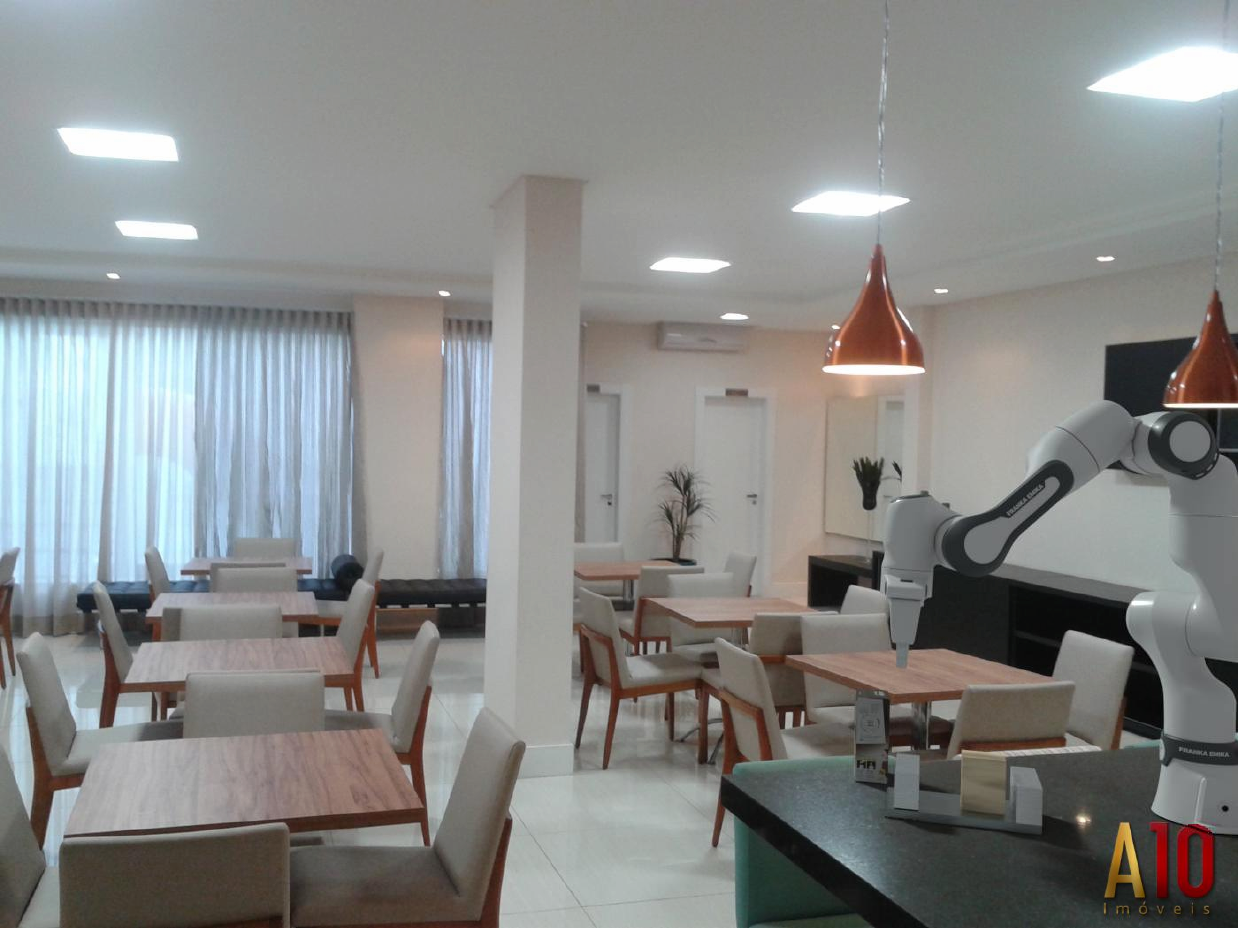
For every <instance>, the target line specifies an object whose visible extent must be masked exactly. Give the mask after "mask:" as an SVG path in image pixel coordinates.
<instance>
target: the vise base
mask: <svg viewBox="0 0 1238 928" xmlns="http://www.w3.org/2000/svg"><path fill="white" fill-rule="evenodd" d="M1009 775H1010V778H1009V799H1005V814H996V813H987V812H978V811H969V810H961V801H960V800H961V794H957V793H945V792H939V791H938V792H937V791H929V790H928V791H927V790H920V789H919V804H918V810H913V809H904V808H895V807H894V787H893V786H892V787H890V786H887V787H886V794H885V795H886V796H885V803H884V817H885V816H887V817H886V818H890V817H892V818H891V819H898V818H904V819H903V820H907V819H912V820H911V821H916V820H919V821H918V822H924V821H925V822H927V823H935V824H943V825H952V826H961V827H969V828H970V827H971V828H978V829H985V830H986V829H987V830H994V831H995V830H997V831H1004V832H1014V833H1020V834H1021V833H1022V834H1030V835H1039V836H1041V835H1042V832H1043V795H1044V788H1043V787H1042V786H1043V785H1042V784H1041V781H1040V778H1039V776H1038V773H1037V771H1036V768H1033V767H1024V766H1012V765H1010V774H1009ZM1042 836H1043V835H1042Z"/></svg>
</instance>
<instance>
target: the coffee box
mask: <svg viewBox="0 0 1238 928" xmlns="http://www.w3.org/2000/svg"><path fill="white" fill-rule="evenodd" d="M890 712H891V696H890V694H889V691H888V690H885V689H872V688H871V689H866V688H865V689H862V688H860V689H859V688H855V693H854V730H853V731H854V732H853V733H854V734H853V779H854V781H855V782H861V783H862V782H863V783H864V782H865V783H875V784H883V785H886V784H888V777H889V776H888V772H889V770H888V769H889V750H890V749H889V748H890V747H889V746H890V745H889V744H890V717H891V716H890V714H891V713H890Z"/></svg>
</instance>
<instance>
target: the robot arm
mask: <svg viewBox="0 0 1238 928" xmlns="http://www.w3.org/2000/svg"><path fill="white" fill-rule="evenodd" d="M1215 436H1216V435H1215V433H1214V430H1213V428H1212V427H1211V425H1210V424H1209V422H1208V421H1207V420H1206V419H1204V418H1203V417H1201V416H1200V415H1198V414H1196V413H1193V412H1189V411H1184V410H1183V411H1182V410H1173V411H1155V412H1151V413H1147V414H1144V415H1139V416H1138V415H1137V416H1136V415H1135V416H1132V415H1131V414H1130V412H1129V411H1128V410H1126V409H1125V408H1124V407H1123V406H1122V405H1120V404H1119V403H1116V402H1115V401H1112V400H1107V399H1101V400H1096V401H1094V402H1092V403H1089V404H1088V405H1086V406H1084V407H1082V408H1081V409H1079V410H1077V411H1075V412H1073V413H1072V414H1070V415H1069V416H1067V417H1066V418H1064V419H1063V420H1062V421H1060V422H1059V423H1057V424H1056V425H1055V426H1054V427H1052V428H1051V429H1050V430H1049V431H1047V432H1046V433H1045V434H1044V435H1043V436H1042V437H1041V438H1039V439H1038V441H1036V443H1035V444H1034V445H1033V446H1032V447H1031V448H1030V450H1029V451H1028V452H1027V454H1026V457H1025V470H1026V474H1025V477H1024V478H1023V479H1022V481H1021V482H1020V483H1019V484H1018V485H1017V486H1015V488H1013V489H1012V490H1011V491H1010V492H1008V493H1006V495H1005V496H1004V497H1002V498H1001V500H999V501H998V502H996V503H995V504H994V505H993V506H992V507H990V508H989V509H988V510H986V511H984V512H982V513H979V514H975V515H974V514H973V515H970V516H965V515H962V513H959V512H956V511H955V510H953V509H951V508H948V507H947V506H945V505H943V504H942V503H941V502H939V501H938V500H936V498H934V496H933V495H932V494H928V493H921V494H919V493H918V494H908V495H901V496H897V497H895V498H894V499H892V500H891V501H890V502H889V503H888V505H887V509H886V513H885V518H884V527H883V536H882V545H883V549H884V556H883V560H882V563H881V567H880V568H881V570H880V587H879V588H880V589H879V593H880V594H883V595H884V596H886V603H887V604H888V605H889V617H890V618H889V619H890V633H891V635H890V636H891V641H892V643H893V644H895V645H896V646H895V653H896V655H895V656H896V658H895V659H896V660H895V667H896V668H897V669H900V670H901V669H903V670H905V669H907V667H908V657H909V650H910V645H913V644H914V643H915V641H916V635H917V631H918V625H919V619H920V613H921V609H922V607H924V606H925V603H924V602H925V600H927V599H928V598H929V599H930V598H932V597H933V581H934V567H935V566H936V565H941V566H942V567H943V568H946V569H950V570H953V571H956V572H958V573H960V574H962V575H965V576H967V577H971V578H978V577H980V578H981V577H984V576H988V575H991V574H992V573H994V572H996V571H997V570H998V569H999V568H1000V567H1001V566H1002V564H1003V563H1004V561H1005V560H1006V558H1007V556H1008V554H1009V552H1010V550H1011V548H1012V547H1013V545H1014V543H1015V542H1016V540H1017V539H1018V538H1019V537H1020V536H1021V535H1023V533H1024V532H1026V531H1027V530H1028V529H1029V528H1030V527H1031V526H1032V525H1033V524H1035V523H1036V522H1037V521H1038V520H1039V519H1040V518H1041V517H1043V516H1044V515H1045V514H1046V513H1048V512H1049V511H1050V510H1051V509H1052V508H1053V507H1054V506H1055V505H1057V503H1059V502H1060V501H1062V500H1063V499H1065V498H1066V497H1068V496H1070V495H1071V494H1073V493H1074V492H1076V491H1078V490H1079V489H1080V488H1082V487H1084V486H1085V485H1086V484H1088V483H1089V482H1090V481H1092V480H1093V479H1095V477H1098V475H1099V474H1100V473H1102V472H1103V471H1104V470H1105V469H1107V468H1108V467H1109V466H1110V465H1112V464H1114V463H1115V465H1117V466H1118V467H1119V468H1121V469H1123V470H1125V471H1127V472H1129V473H1131V474H1134V475H1135V474H1136V475H1148V476H1158V477H1159V476H1161V477H1162V476H1163V478H1164V480H1166V483H1167V485H1168V489H1169V494H1170V495H1169V496H1170V503H1169V519H1168V520H1169V521H1168V523H1169V525H1168V555H1169V557H1170V559H1171V561H1172V562H1173V563H1174V564H1175V565H1176V566H1177V567H1179V568H1180V569H1181V570H1183V571H1184V572H1187V573H1188V574H1189V575H1191V577H1192V578H1193V579H1194V582H1196V585H1197V588H1198V592H1199V593H1195V592H1186V591H1176V590H1169V589H1168V590H1167V589H1166V590H1165V589H1164V590H1154V591H1145V592H1144V591H1143V592H1140V593H1138V594H1137V595H1135V597H1134V598H1133V599H1132V600H1131V602H1130V603H1129V605H1128V607H1127V609H1126V615H1125V622H1126V627H1127V631H1128V633H1129V634H1130V636H1131V638H1132V639H1133V640H1134V641H1135V642H1136V643H1137V644H1138V645H1140V646H1141V648H1142V649H1143V650H1144V651H1145V652H1146V653H1147V655H1148V656H1149V658H1150V659H1151V661H1152V663H1153V665H1154V667H1155V669H1156V671H1157V673H1158V676H1159V678H1160V682H1161V686H1162V688H1161V689H1162V695H1163V730H1161V732H1160V739H1159V760H1160V763H1161V766H1160V767H1161V768H1160V774H1159V779H1158V785H1157V789H1156V794H1155V796H1154V800H1153V802H1152V804H1151V808H1150V809H1151V811H1152V812H1153V813H1154V814H1156V815H1158V816H1159V817H1162V818H1164V819H1166V820H1169V821H1172V822H1175V823H1178V824H1180V825H1181V824H1182V825H1185V826H1188V824H1199V825H1201V826H1205V827H1206V828H1208V830H1210V831H1211V832H1212V833H1211V834H1221V835H1222V834H1224V835H1238V739H1237V738H1236V722H1237V721H1236V720H1237V700H1236V697H1235V695H1234V692H1233V691H1232V689H1231V688H1230V687H1229V686H1227V684H1225V683H1224V682H1223V681H1221V680H1219V679H1218V678H1216V677H1215V676H1214V675H1213V673H1212V672H1211V671H1210V669H1209V668H1208V665H1207V664H1206V663H1207V662H1206V660H1205V659H1206V658H1207V659H1213V660H1220V661H1226V662H1232V663H1238V470H1237V467H1236V465H1235V463H1234V462H1233V461H1232V460H1231V459H1230V458H1229V457H1228V456H1225V455H1222V454H1221V453H1220V452H1221V451H1220V448H1219V446H1218V444H1217V440H1216V437H1215Z"/></svg>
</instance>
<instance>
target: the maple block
mask: <svg viewBox="0 0 1238 928" xmlns="http://www.w3.org/2000/svg"><path fill="white" fill-rule="evenodd" d="M960 768H961V769H960V770H961V772H960V775H961V776H960V795H961V800H960V801H961V810H969V811H978V812H987V813H996V814H1005V800H1006V789H1007V788H1006V787H1007V758H1006V755H1005V753H999V752H988V751H979V750H969V749H967V750H966V749H961V767H960Z"/></svg>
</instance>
